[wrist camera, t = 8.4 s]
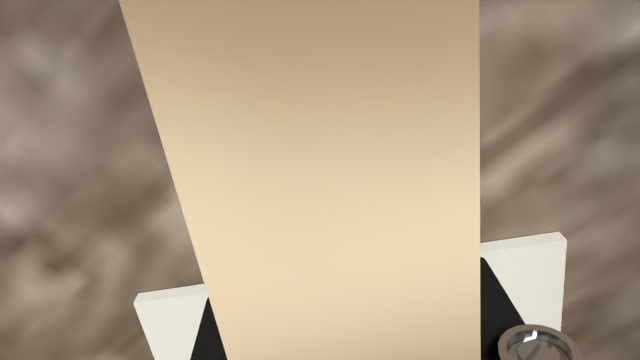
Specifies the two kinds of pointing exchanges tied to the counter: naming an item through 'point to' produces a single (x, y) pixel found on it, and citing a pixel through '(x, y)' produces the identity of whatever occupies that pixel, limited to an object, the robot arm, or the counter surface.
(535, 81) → the counter surface
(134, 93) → the counter surface
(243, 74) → the tall beige plank
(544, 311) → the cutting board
